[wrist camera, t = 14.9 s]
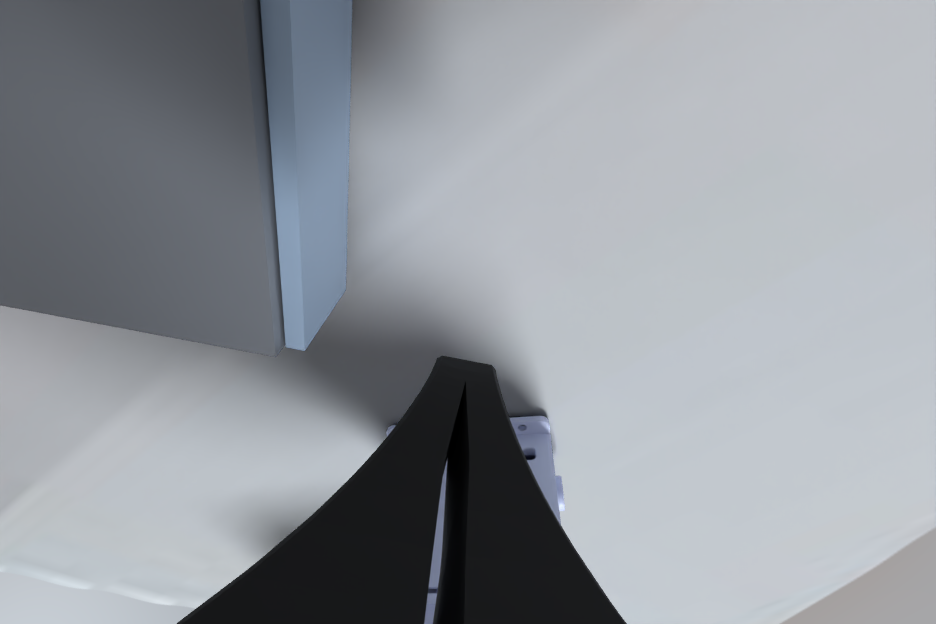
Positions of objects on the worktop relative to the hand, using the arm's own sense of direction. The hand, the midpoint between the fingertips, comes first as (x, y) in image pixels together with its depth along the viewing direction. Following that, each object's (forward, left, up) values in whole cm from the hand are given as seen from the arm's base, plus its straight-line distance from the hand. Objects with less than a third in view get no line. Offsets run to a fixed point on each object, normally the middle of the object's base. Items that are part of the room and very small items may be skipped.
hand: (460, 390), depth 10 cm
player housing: (+10, -6, -9) cm, 15 cm away
